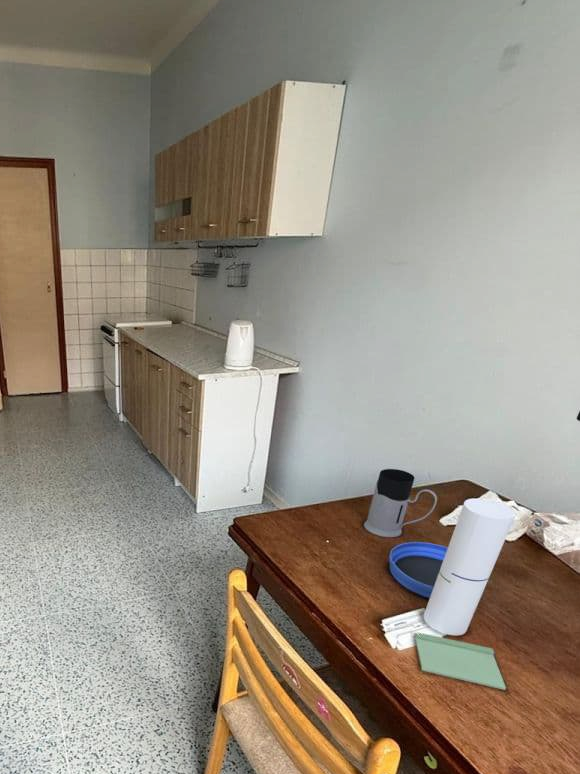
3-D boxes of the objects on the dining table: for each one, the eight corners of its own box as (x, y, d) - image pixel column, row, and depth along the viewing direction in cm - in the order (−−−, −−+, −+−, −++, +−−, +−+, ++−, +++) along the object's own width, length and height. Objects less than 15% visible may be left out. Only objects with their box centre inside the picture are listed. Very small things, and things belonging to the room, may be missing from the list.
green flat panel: (490, 651, 84) (492, 647, 83) (505, 690, 76) (507, 686, 76) (414, 634, 88) (415, 630, 87) (421, 670, 80) (423, 666, 80)
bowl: (368, 565, 107) (371, 552, 105) (426, 548, 113) (430, 535, 111) (439, 614, 92) (444, 600, 91) (502, 592, 98) (508, 578, 96)
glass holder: (374, 516, 126) (387, 464, 119) (430, 537, 117) (448, 483, 110) (357, 527, 122) (370, 474, 115) (414, 550, 112) (432, 494, 105)
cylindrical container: (456, 641, 86) (505, 523, 74) (416, 619, 91) (456, 506, 79) (473, 624, 90) (522, 510, 78) (434, 604, 95) (474, 494, 83)
